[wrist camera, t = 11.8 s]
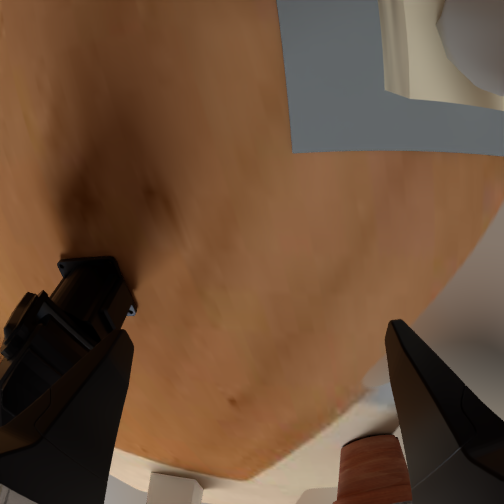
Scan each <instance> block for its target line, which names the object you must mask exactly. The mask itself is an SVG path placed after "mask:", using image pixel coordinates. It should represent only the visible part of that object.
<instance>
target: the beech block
mask: <svg viewBox="0 0 504 504" xmlns="http://www.w3.org/2000/svg"><path fill="white" fill-rule="evenodd" d="M444 2H445V0H378V8H379V16H380V26H381V36H382V49H383V64H384V87H385V90H386V91H389V92H392V93H395V94H398V95H400V96H403V97H406V98H409V99H418V100H429V101H440V102H448V103H457V104H464V105H471V106H478V107H484V108H490V109H495V110H501V111H504V96H499V95H496V94H494V93H491V92H488V91H486V90H483V89H480V88H478V87H477V86H475V85H474V84H473V83H472V82H471V81H470V80H469V79H468V78H467V77H466V76H465V75H464V74H463V73H462V72H461V71H459V70H458V69H457V68H456V67H455V65H454V64H453V63H452V62H451V61H450V60H449V59H448V58H447V56H446V53H445V50H444V47H443V44H442V41H441V38H440V36H439V33H438V30H437V27H436V24H437V22H438V20H439V19H440V17H441V14H442V10H443V6H444Z"/></svg>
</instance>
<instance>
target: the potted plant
mask: <svg viewBox="0 0 504 504" xmlns="http://www.w3.org/2000/svg"><path fill="white" fill-rule="evenodd" d="M411 490H412V489H411V485H410V478H409V472H408V468H407V465H406V462H405V459H404V455H403V452H402V449H401V446H400V443H399V440H398V437H395V436H394V435H379V436H372V437H368V438H364V439H360V440H358V441H355V442H352V443H350V444H348V445H346V446H345V447H343V448H342V449H341V457H340V471H339V482H338V494H337V501H335V502H333V504H413V500H412V492H411Z"/></svg>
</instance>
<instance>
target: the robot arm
mask: <svg viewBox="0 0 504 504" xmlns="http://www.w3.org/2000/svg"><path fill="white" fill-rule="evenodd" d="M110 262H111V263H110ZM57 266H58V268H59V270H60V272H61V274H62V276H63V279H62V280H61V282H60V283H59V284H58V286H57V287H56V289H55V290H54V291H53V293H52V294H51V296H50V297H48V294H47V293H46V292H45V291H44V290H43V291H41V292H40V293H39V294H38V295H36V294H33V293H30V292H27V293H26V294H25V295H24V297H23V298H22V299H21V301H20V302H19V304H18V305H17V306H16V308H15V309H14V311H13V313H12V314H11V316H10V318H9V320H8V322H7V323H6V325H5V327H4V336H5V337H4V340H3V344H2V347H1V350H0V353H1V354H2V355H3V356H4V358H3V360H2V362H1V363H0V504H104V500H105V494H106V488H107V481H108V476H109V471H110V466H111V461H112V456H113V451H114V446H115V441H116V437H117V432H118V428H119V423H120V419H121V415H122V411H123V406H124V402H125V398H126V394H127V390H128V386H129V380H130V373H131V366H132V359H133V353H134V345H133V343H132V341H131V339H130V337H129V335H128V333H127V332H126V330H124V329H121V327H122V324H123V322H124V320H125V318H126V316H134V315H135V314H136V312H137V309H136V307H135V305H134V302H133V299H132V297H131V295H130V292H129V290H128V288H127V285H126V283H125V281H124V279H123V277H122V274H121V272H120V269H119V267H118V264H117V262H116V260H115V259H114V258H113V257H111V256H104V257H89V258H75V259H61V260H60V261H59V262H58V263H57ZM385 346H386V353H387V360H388V368H389V376H390V383H391V388H392V392H393V397H394V401H395V405H396V410H397V414H398V419H399V424H400V428H401V433H402V439H403V444H404V449H405V454H406V460H407V466H408V472H409V478H410V485H411V489H412V490H411V492H412V500H413V504H504V421H503V420H501V418H499V417H498V416H497V415H496V414H495V413H494V412H492V411H491V410H490V409H489V408H488V407H487V406H486V405H485V404H484V403H483V402H482V401H481V400H480V399H478V397H477V396H476V395H475V394H474V393H473V392H472V391H471V390H470V389H469V388H468V387H467V386H465V384H464V383H463V382H462V380H461V379H460V378H459V377H458V376H457V375H456V374H455V373H454V372H453V371H452V370H451V369H450V368H449V367H448V366H447V365H446V364H445V363H444V361H443V360H442V359H441V358H440V357H439V356H438V355H437V354H436V353H435V352H434V351H433V350H432V349H431V348H430V347H429V346H428V345H427V344H426V343H425V342H424V341H423V340H422V339H421V338H420V337H419V336H418V335H417V334H416V333H415V332H414V331H413V330H412V329H411V328H410V327H409V326H408V325H407V324H406V323H405V322H404V321H403V320H401V319H397V320H391V321H390V322H389V324H388V328H387V332H386V336H385Z"/></svg>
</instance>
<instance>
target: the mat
mask: <svg viewBox="0 0 504 504" xmlns="http://www.w3.org/2000/svg"><path fill="white" fill-rule="evenodd" d="M276 1H277V8H278V16H279V23H280V31H281V39H282V48H283V57H284V66H285V75H286V85H287V95H288V106H289V117H290V128H291V140H292V152H293V153H308V152H330V151H375V150H391V151H435V152H455V153H471V154H484V155H495V156H504V111H501V110H495V109H490V108H484V107H478V106H471V105H464V104H457V103H448V102H440V101H429V100H418V99H409V98H406V97H403V96H400V95H398V94H395V93H392V92H389V91H386V90H385V87H384V64H383V49H382V36H381V26H380V16H379V8H378V0H276Z"/></svg>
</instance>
